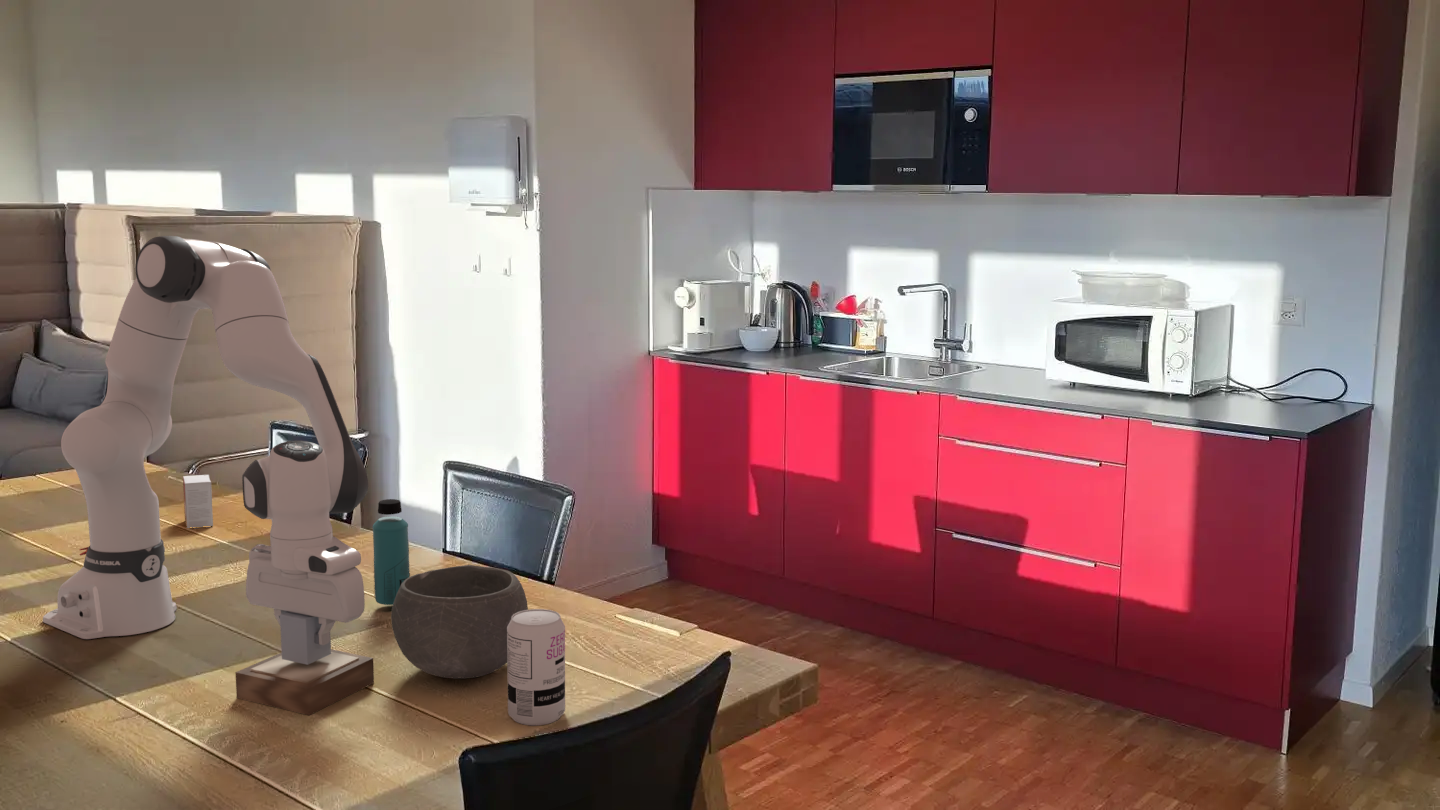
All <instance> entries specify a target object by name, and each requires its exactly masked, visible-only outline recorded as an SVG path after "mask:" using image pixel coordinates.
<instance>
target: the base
mask: <svg viewBox="0 0 1440 810" xmlns="http://www.w3.org/2000/svg"><path fill="white" fill-rule="evenodd" d="M374 669H375V668H374V657H370V656H365V655H361V654H357V653H350V652H345V651H342V650H338V649H337V650H336V649H333V648H331V654H330V655H328V656H326V657H323V658H321V659H319V660H317V661H315V662H313V663H310V664H308V665H306V664H302V663H297V662H293V661H288V660H284V659H282V652H280V653H277V654H275V655H273V656H270V657H267V658H266V659H263V660H261V661H259V662H256V663H254V664H252V665H249V666H247V667H244V668H242V669H240V670H237V671H236V672H235V692H236V698H237V699H241V700H245V701H249V702H251V703H256V704H260V705H263V706H264V705H265V706H269V707H273V708H277V709H281V710H285V711H288V712H289V711H290V712H295V713H298V714H302V715H305V716H306V715H307V716H311V715H313V714H315V713H317V712H319V711H320V710H323V709H325V708H326V707H328V706H330V705H333V704H335V703H336V702H337V703H338V702H339V701H340V700H343V699H345V698H347V697H349V696H351V695H353V694H354V693H357V692H358V691H360V690H363V689H364V688H366V687H368V686H370V685H373V684H374V683H375V677H374V676H375V675H374V674H375V672H374ZM372 683H373V684H372Z"/></svg>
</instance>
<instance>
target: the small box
mask: <svg viewBox="0 0 1440 810" xmlns="http://www.w3.org/2000/svg"><path fill="white" fill-rule="evenodd" d="M210 478H211V477H210V474H198V475H183V476H182V483H183V486H182V487H183V505H184V506H183V508H184V509H183V512H184V522H185V521H186V522H185V525H186V526H187V527H186V529H187V528H190V527H192V528H193V527H203V526H213V527H214V519H213V517H214V516H213V495H212V493H213V491H212V489H213V488H212V481H211V479H210Z"/></svg>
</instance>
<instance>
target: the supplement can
mask: <svg viewBox="0 0 1440 810" xmlns="http://www.w3.org/2000/svg"><path fill="white" fill-rule="evenodd" d="M506 665H507V670H506V671H507V713H508V716H509V717H510V718H512V721H515V723H517V724H521V725H525V726H543V725H549V724H552V723H554V722H557V721H558V720H560V719H561V716H563V715H564V714H565V712H566V626H565V624H564V622H563V620H562V617H561V614H560V613H559V612H557V611H556V610H555V611H554V610H552V609H545V608H533V609H528V610H524V611H520V612H517V613H515V614H513V616H512V617H511V621H510V623H509V625H508V626H507V663H506Z"/></svg>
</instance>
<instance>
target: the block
mask: <svg viewBox="0 0 1440 810" xmlns="http://www.w3.org/2000/svg"><path fill="white" fill-rule="evenodd" d="M321 625H322V624H319V618H318V617H314V616H309V615H304V614H299V613H294V612H289V611H287V612H285V613H282V614H280V625H279V627H280V643H281V644H280V645H281V649H280V650H281V653H282V659H284V660H288V661H293V662H297V663H302V664H306V665H308V664H310V663H313V662H315V661H317V660H319V659H321V658H323V657H326V656H328V655H330V654H331V649H332V646H331V645H332V643H331V642H332V641H331V637H330V641H329V643H328V644H325V645H319V644H315V643H314V640H315V638H314V633H316V632H319V630H320V628H321Z"/></svg>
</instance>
